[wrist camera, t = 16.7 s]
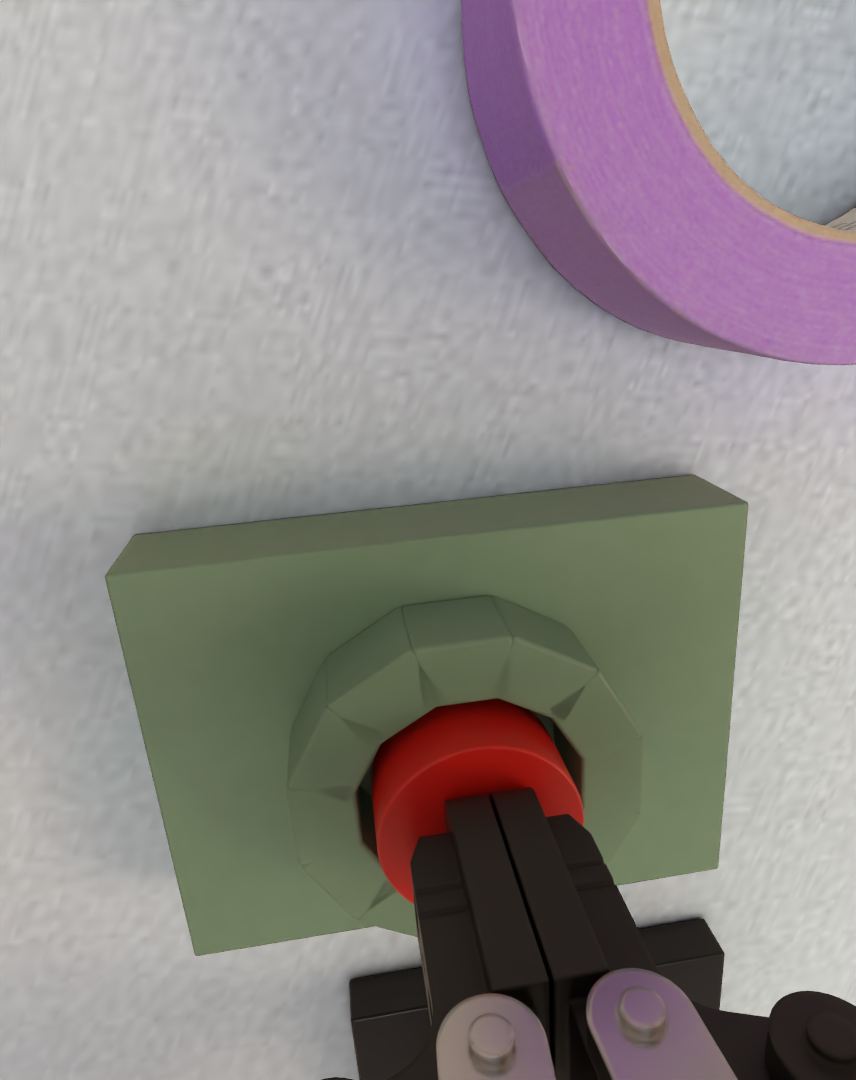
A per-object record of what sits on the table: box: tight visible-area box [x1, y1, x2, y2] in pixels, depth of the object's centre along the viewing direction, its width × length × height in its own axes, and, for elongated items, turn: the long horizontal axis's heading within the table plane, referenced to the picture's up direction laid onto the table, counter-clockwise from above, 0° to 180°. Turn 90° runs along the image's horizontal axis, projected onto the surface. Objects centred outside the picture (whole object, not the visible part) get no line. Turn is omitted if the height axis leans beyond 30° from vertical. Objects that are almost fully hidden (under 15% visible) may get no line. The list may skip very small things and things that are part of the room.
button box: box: [105, 475, 748, 956], centre depth 15 cm, size 12×9×4 cm
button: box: [371, 698, 584, 904], centre depth 13 cm, size 4×4×2 cm
